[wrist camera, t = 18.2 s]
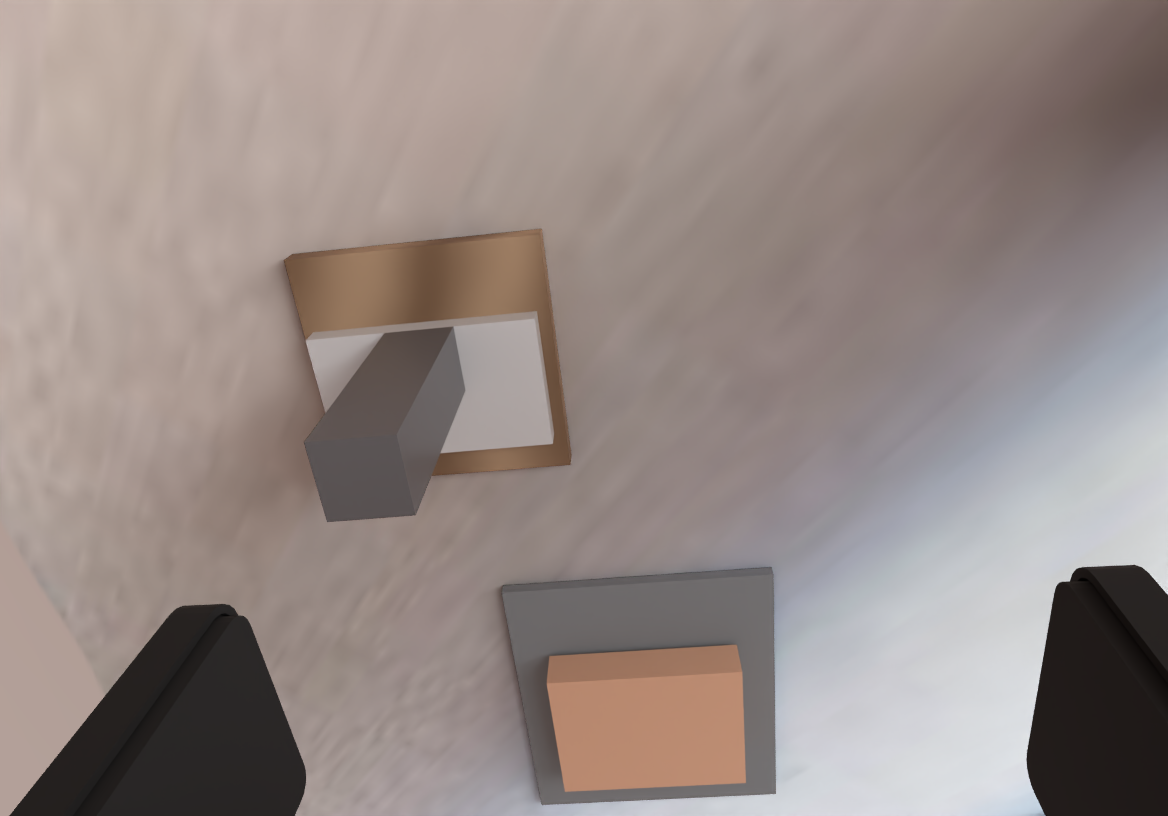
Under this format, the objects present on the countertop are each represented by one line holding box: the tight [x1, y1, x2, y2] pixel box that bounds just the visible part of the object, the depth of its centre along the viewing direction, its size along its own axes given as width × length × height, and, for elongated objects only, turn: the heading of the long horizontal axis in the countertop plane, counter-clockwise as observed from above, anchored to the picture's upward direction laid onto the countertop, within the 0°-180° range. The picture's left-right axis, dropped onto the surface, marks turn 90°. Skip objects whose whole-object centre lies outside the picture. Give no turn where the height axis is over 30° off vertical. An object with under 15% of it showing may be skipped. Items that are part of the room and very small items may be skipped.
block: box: [547, 645, 746, 792], centre depth 44 cm, size 10×2×8 cm
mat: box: [502, 567, 776, 805], centre depth 45 cm, size 14×16×1 cm
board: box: [284, 229, 571, 476], centre depth 37 cm, size 11×11×1 cm
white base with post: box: [304, 311, 554, 522], centre depth 32 cm, size 6×10×11 cm, turn 96°
